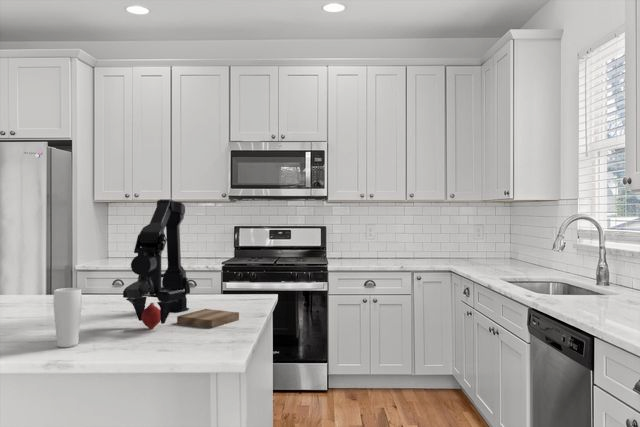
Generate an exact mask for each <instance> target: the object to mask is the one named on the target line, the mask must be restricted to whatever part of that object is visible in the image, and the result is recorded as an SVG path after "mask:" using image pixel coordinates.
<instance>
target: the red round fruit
mask: <svg viewBox="0 0 640 427" xmlns="http://www.w3.org/2000/svg"><path fill="white" fill-rule="evenodd" d="M141 318H142V321H141V322H142V323H143V324H144V326H145V327H147V328H149V329H150V330H151V329H154V328H155V327H156V326H157V325H159V323H161V318H160V308H158V306H156V305H155V302H152V301H151V303H150V304H148V306H146V307H145V310H144V311H143V313H142V317H141Z"/></svg>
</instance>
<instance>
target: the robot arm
mask: <svg viewBox="0 0 640 427" xmlns="http://www.w3.org/2000/svg"><path fill="white" fill-rule="evenodd" d="M185 213H186V206H185V204H183V202H181V201H175V200H173V199H164V198H163V199H158V200H157V201H156V208H155V210H154V212H153V215H152V217H151V219H150V221H149V224H147V225H145V226H143V228H142V229H141V230H140V232H139V234H138V235H137V237H136V243H135V246H134V250H133V253H134V254H137V256H134V258H133V259H132V260H131V261H130V262H131V263H130V269H131V270H132V272H133V273H134V274H135V275H138V277H137V280H136V281H134V282H133V283H131V284H129V285H127V286H126V287H125V288H124V290H123V291H122V298H125V300H126V301H127V302H129V303H131V304H132V306H133V308H134V309H133V310H135V313H136V316H137V320H138V321H139V322H142V318H141V317H142V313H143V311H144V310H145V309H146V303H147V298H148V297H149V298H157V300H158V302H156V304H158V306H159V310H160V318H161V320H160V324H161V325H163V324H165V323H166V321H167V318H168V317H169V315H170V312H172V313H179V312H184V311H188V310H190V308H189V307H187V306H188V304H187V302H188V299H187V298H188V297H187V295H188V294H191V286H190V281H189V278H188V277H187V271H186V270H185V268H184V267H183V266H182V260H181V259H182V258H181V256H182V255H181V234H180V232H181V230H180V226H181V223H183V220H184V218H185ZM165 230H166V231H165ZM165 232H166V234H165ZM165 247H166V253H167V255H166V257H167V268H166V270H165V271H164V273H162V254H163V251H164V250H165Z"/></svg>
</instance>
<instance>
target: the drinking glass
mask: <svg viewBox="0 0 640 427" xmlns="http://www.w3.org/2000/svg"><path fill="white" fill-rule="evenodd" d="M82 296H83V295H82V288H80V287H65V288H64V287H63V288H57V289H54V290H53V300H52V302H53V315H54V324H55V336H56V337H55V338H56V341H55V342H56V346H57V347H58V348H61V349H62V348H72V347H75V346H77V345H78V344H79V342H80V327H81V315H82V314H81V313H82V305H83V304H82V302H83V300H82V298H83V297H82Z"/></svg>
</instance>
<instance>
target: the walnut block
mask: <svg viewBox="0 0 640 427" xmlns="http://www.w3.org/2000/svg"><path fill="white" fill-rule="evenodd" d="M176 316H177V317H176V320H177V321H176V324H177V325H184V326H191V327H197V328H199V327H200V328H207V329H215V328H218V327H220V326H224V324H225V325H228V324H230V323H234V322H237V321H239V320H240V312H237V311H230V310H221V309H220V310H218V309H209V308H204V309H200V310H197V311H193V312H188V313H184V314H181V315H176Z"/></svg>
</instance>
